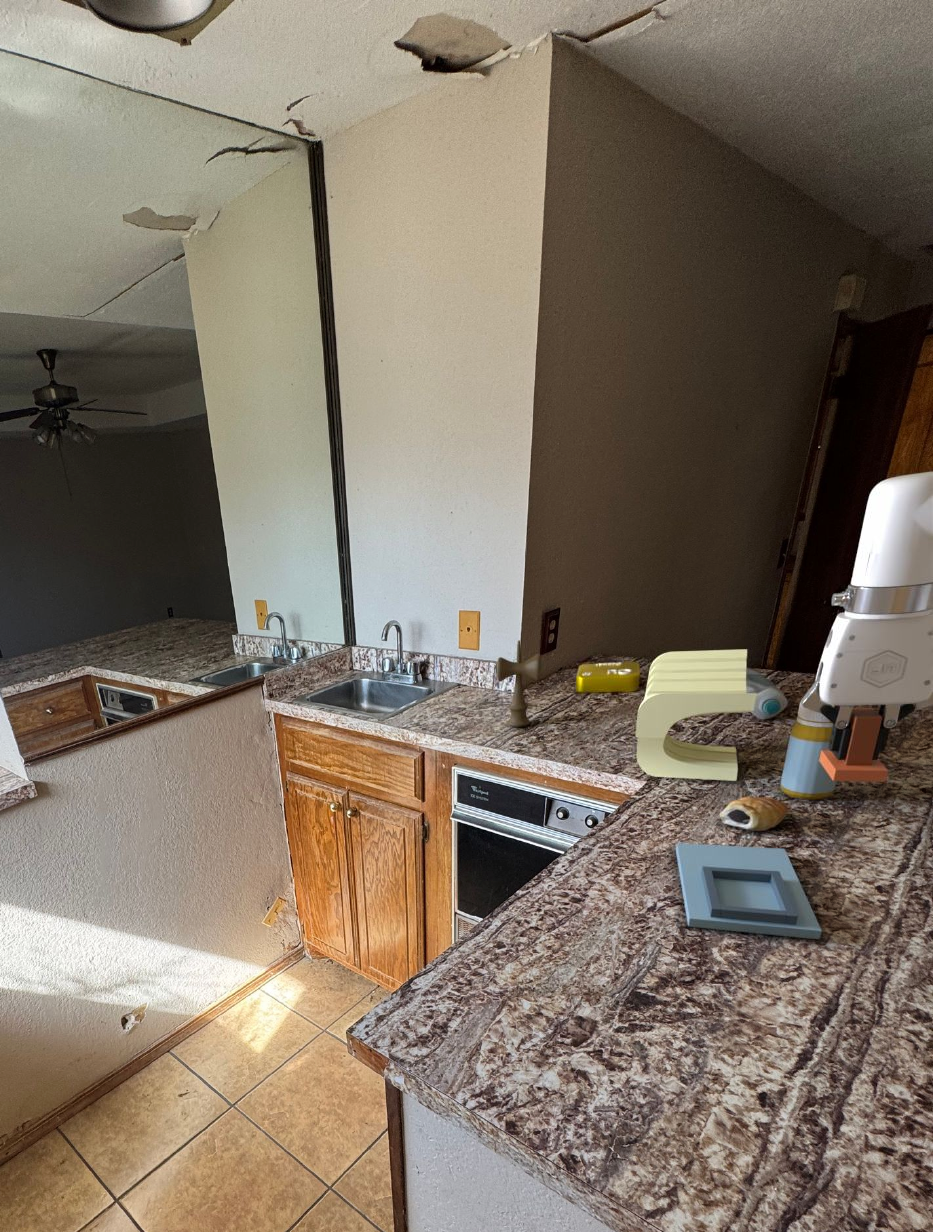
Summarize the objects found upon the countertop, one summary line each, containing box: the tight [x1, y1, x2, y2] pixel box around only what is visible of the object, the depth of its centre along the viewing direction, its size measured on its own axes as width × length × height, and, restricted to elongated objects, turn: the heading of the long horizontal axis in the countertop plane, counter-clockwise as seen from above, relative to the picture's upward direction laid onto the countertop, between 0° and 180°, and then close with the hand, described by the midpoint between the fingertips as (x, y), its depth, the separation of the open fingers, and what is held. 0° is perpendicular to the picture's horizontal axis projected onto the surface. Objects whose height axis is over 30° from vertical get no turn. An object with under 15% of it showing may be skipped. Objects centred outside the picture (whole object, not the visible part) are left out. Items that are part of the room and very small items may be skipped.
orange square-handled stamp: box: [819, 706, 889, 783], centre depth 79 cm, size 5×7×8 cm
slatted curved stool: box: [635, 649, 757, 782], centre depth 117 cm, size 30×16×18 cm, turn 151°
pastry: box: [719, 796, 789, 832], centre depth 98 cm, size 9×7×4 cm
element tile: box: [575, 661, 641, 694], centre depth 173 cm, size 15×15×5 cm
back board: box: [675, 842, 823, 940], centre depth 84 cm, size 13×20×2 cm, turn 157°
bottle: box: [779, 698, 837, 801], centre depth 102 cm, size 7×7×15 cm
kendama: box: [496, 639, 542, 728], centre depth 150 cm, size 6×10×20 cm, turn 71°
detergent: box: [746, 666, 789, 721], centre depth 142 cm, size 13×7×25 cm
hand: (854, 755), depth 80 cm, fingers closed on orange square-handled stamp, 2 cm apart
